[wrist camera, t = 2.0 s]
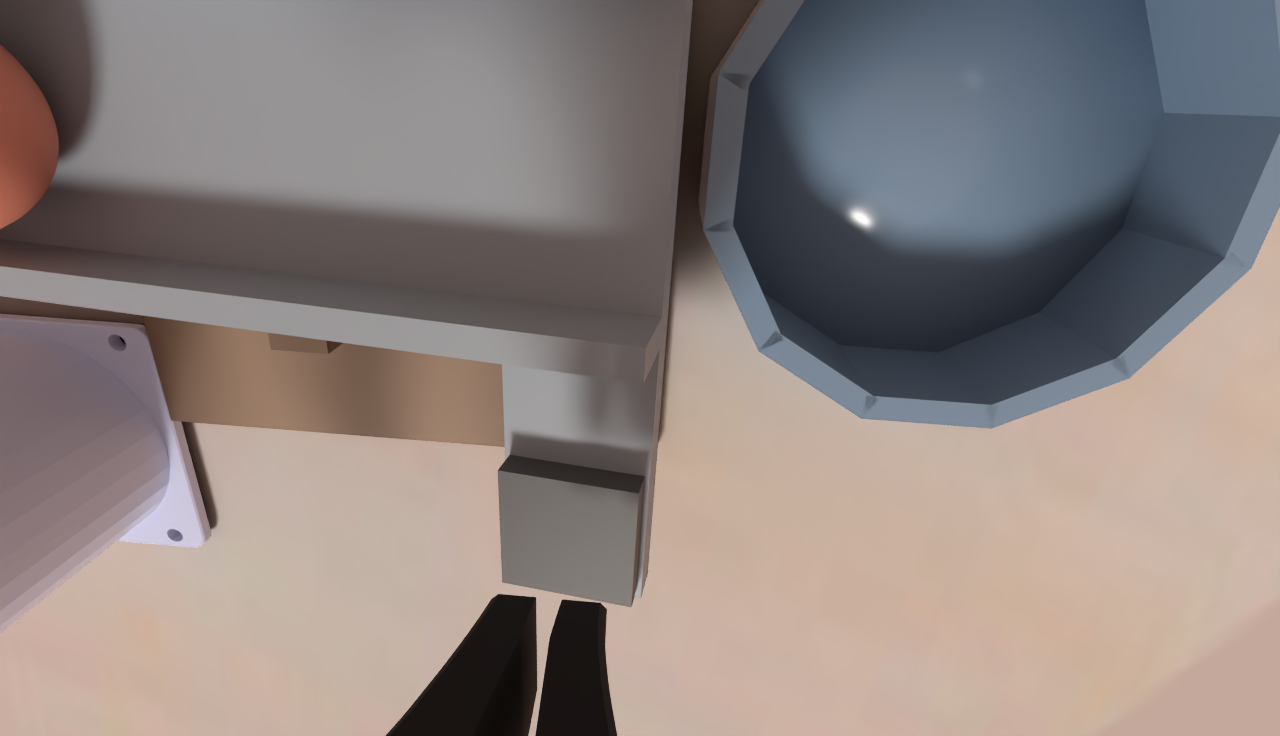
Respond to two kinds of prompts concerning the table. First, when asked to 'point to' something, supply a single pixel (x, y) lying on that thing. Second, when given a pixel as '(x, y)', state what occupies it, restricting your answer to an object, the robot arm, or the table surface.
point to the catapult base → (323, 385)
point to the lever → (392, 212)
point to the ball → (23, 141)
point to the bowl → (987, 190)
